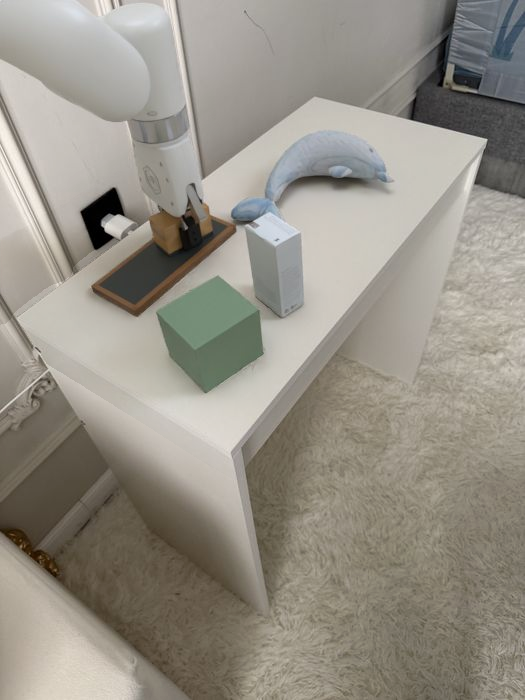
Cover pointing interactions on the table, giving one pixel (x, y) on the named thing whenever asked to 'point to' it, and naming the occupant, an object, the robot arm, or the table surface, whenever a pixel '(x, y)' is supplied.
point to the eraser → (175, 230)
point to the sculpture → (315, 168)
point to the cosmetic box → (276, 263)
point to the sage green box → (211, 332)
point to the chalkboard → (156, 271)
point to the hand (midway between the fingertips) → (184, 238)
